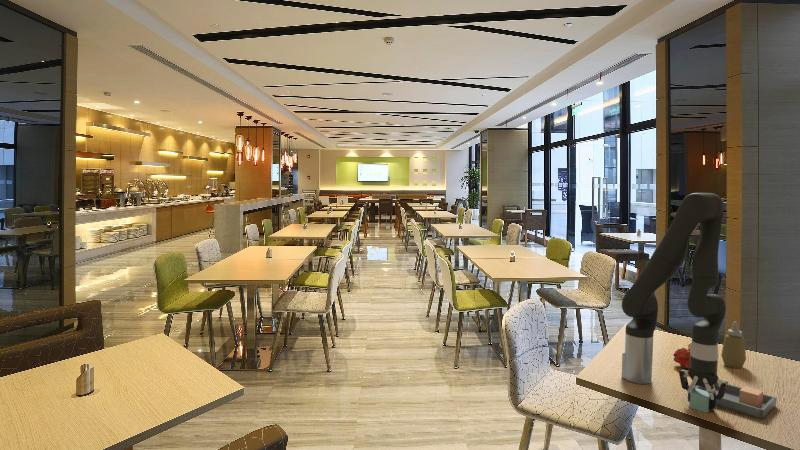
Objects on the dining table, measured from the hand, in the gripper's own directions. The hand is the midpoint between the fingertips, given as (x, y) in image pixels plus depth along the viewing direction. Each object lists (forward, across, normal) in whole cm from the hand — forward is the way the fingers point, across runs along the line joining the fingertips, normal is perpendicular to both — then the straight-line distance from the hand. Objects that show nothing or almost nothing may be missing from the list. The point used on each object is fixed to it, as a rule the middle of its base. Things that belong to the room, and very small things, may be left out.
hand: (701, 406), depth 155 cm
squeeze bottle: (+1, -6, +48) cm, 49 cm away
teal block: (0, 0, 0) cm, 0 cm away
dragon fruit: (+1, -16, +32) cm, 36 cm away
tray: (0, +5, +12) cm, 13 cm away
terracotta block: (0, +10, +12) cm, 16 cm away
